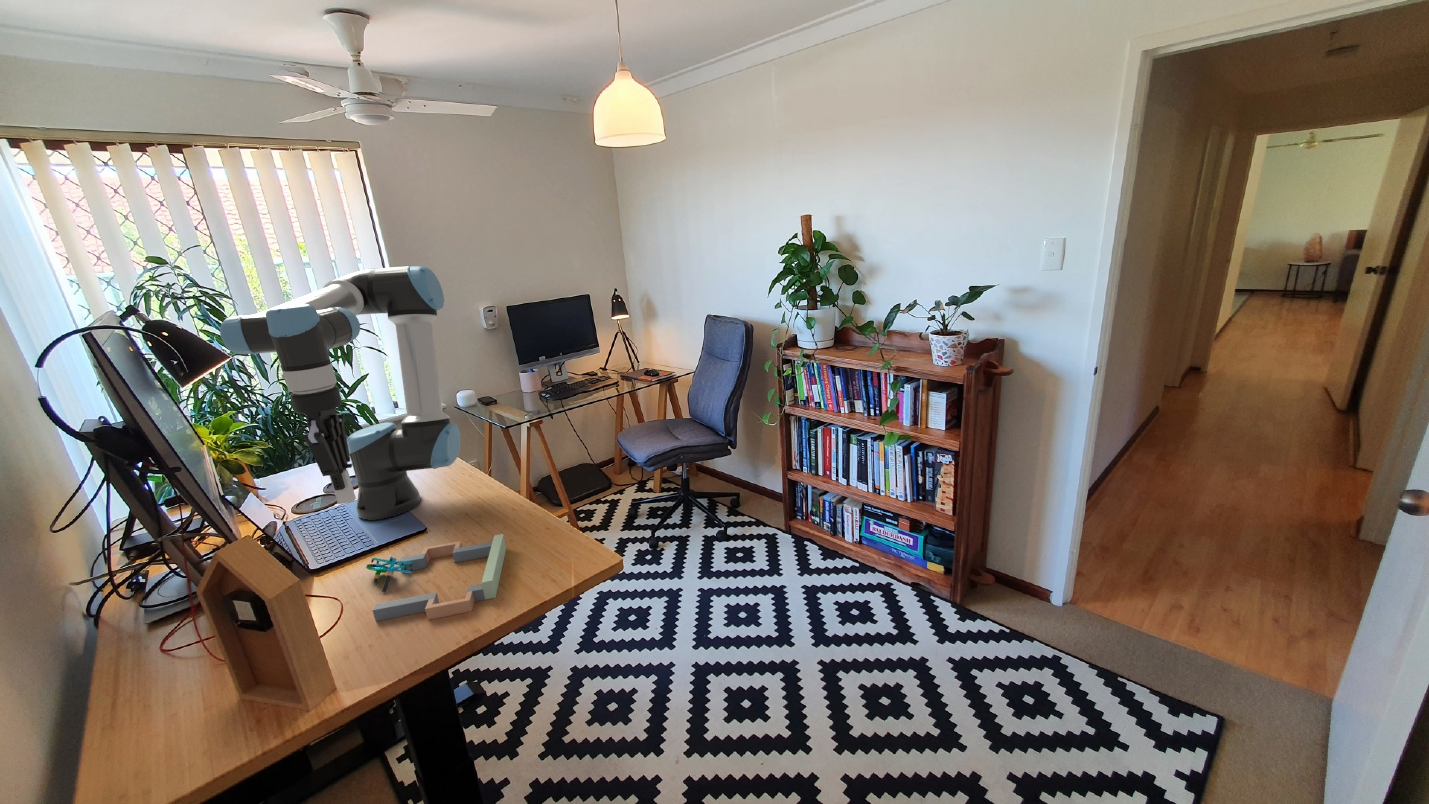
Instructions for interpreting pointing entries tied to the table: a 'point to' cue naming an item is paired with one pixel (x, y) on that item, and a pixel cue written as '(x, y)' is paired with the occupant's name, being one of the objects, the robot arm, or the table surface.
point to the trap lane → (430, 601)
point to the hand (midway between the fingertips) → (347, 501)
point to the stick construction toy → (387, 569)
